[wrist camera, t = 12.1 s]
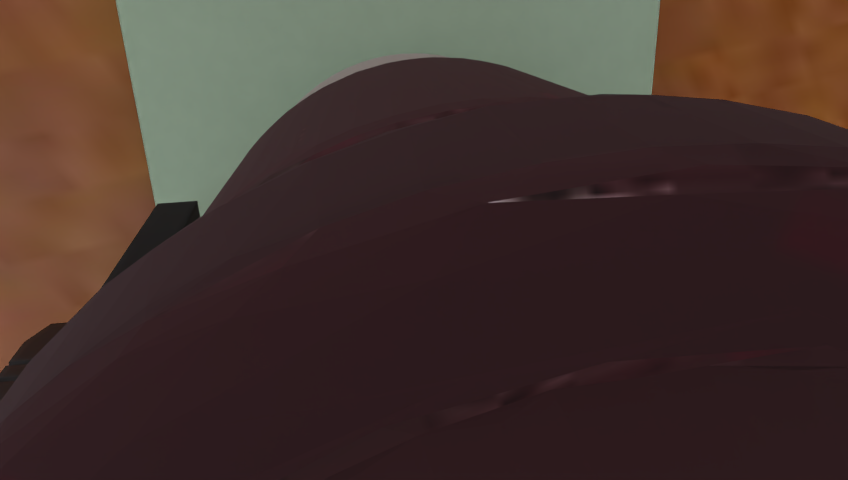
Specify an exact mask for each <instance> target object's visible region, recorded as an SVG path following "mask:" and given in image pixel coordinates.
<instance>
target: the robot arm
mask: <svg viewBox="0 0 848 480" xmlns="http://www.w3.org/2000/svg"><path fill="white" fill-rule="evenodd" d="M199 217H200V213H199V207H198V201H186V202H173V203H159V204H157V205H156V207H155V208H154V210H153V211H152V213H151V214H150V216H149V217H148V219H147V220H146V222H145V223H144V225H143V226H142V228H141V229H140V231H139V232H138V234H137V235H136V237H135V238H134V240H133V241H132V243H131V244H130V246H129V247H128V249H127V250H126V252H125V253H124V255H123V256H122V258H121V259H120V261H119V262H118V264H117V265H116V267H115V268H114V270H113V271H112V273H111V274H110V276H109V277H108V279H107V280H106V282H105V283H104V285H105V284H107V283H108V282H109V281H111V280H112V279H114V278H115V277H116V276H118V275H119V274H120V273H122V272H123V271H124V270H126V269H127V268H128V267H130V266H131V265H132V264H134V263H135V262H136V261H138V260H139V259H140V258H142V257H143V256H144V255H146V254H147V253H148V252H150V251H151V250H152V249H154V248H155V247H157V246H158V245H160V244H161V243H163V242H164V241H166V240H167V239H168V238H170V237H171V236H173V235H174V234H176V233H177V232H179V231H180V230H182V229H183V228H185V227H186V226H188V225H189V224H191V223H192V222H194V221H195V220H196V219H198V218H199ZM104 285H103V286H104ZM103 286H102V287H103ZM66 324H67V323H56V324H50V325H49V326H47V327H46V328H44V329H43V330H42V331H40V332H39V333H37V334H36V335H34V336H33V337H31V338H30V339H28V340H27V341H25V342H24V343H23V344H22V346H21V347H20V348H19V350H18V351H17V352H16V354H15V355H14V356H13V357H12V359H11V360H10V361H9V366H5V368H4V369H3V370H2V372H1V373H0V401H1V400H2V398H3V397H4V396H5V394H6V393H7V391H8V390H9V389H10V387H11V386H12V385H13V383H14V382H15V381H16V379H17V378H18V376H19V375H20V374H21V372H22V371H23V370H24V368H25V367H26V366H27V364H28V363H29V361H30V360H31V359H32V358H33V357H34V356H35V355H36V354H37V353H38V352H39V351H40V350H41V349H42V348H43V347H44V346H45V345H46V344H47V343H48V342H49V341H50V340H51V339H52V338H53V337H54V336H55V335H56V334H57V333H58V332H59V331H60V330H61V329H62V328H63V327H64V326H65V325H66Z"/></svg>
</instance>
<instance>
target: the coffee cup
mask: <svg viewBox="0 0 848 480" xmlns="http://www.w3.org/2000/svg"><path fill="white" fill-rule="evenodd" d="M0 480H848V129H845V128H842V127H839V126H836V125H833V124H831V123H828V122H825V121H822V120H819V119H816V118H813V117H810V116H807V115H802V114H797V113H791V112H786V111H781V110H775V109H770V108H764V107H759V106H754V105H748V104H743V103H738V102H732V101H727V100H719V99H704V98H689V97H674V96H659V95H638V94H597V95H586V94H584V93H581V92H578V91H575V90H572V89H570V88H567V87H564V86H561V85H558V84H555V83H553V82H550V81H547V80H544V79H541V78H539V77H536V76H533V75H530V74H527V73H524V72H522V71H519V70H516V69H513V68H510V67H507V66H503V65H499V64H494V63H490V62H485V61H479V60H473V59H466V58H450V57H446V56H440V55H432V54H424V53H410V54H395V55H387V56H382V57H378V58H374V59H370V60H367V61H363V62H361V63H358V64H356V65H353V66H350V67H348V68H346V69H344V70H342V71H340V72H338V73H336V74H334V75H332V76H331V77H329V78H328V79H326V80H325V81H323V82H321V83H320V84H318V85H317V86H316V87H315V88H314V89H312V90H311V91H310V92H309V93H307V94H306V95H305V96H304V97H303V98H302V99H301V100H300V101H299V102H298V103H297V104H296V105H295V106H294V107H293V108H291V109H290V110H288V111H287V112H286V113H285V114H284V115H283V116H282V117H281V118H279V119H278V120H277V121H276V122H275V123H274V124H273V125H272V126H271V127H270V128H269V129H268V130H267V131H266V132H265V133H264V134H263V135H262V136H261V137H260V138H259V139H258V141H257V142H256V143H255V144H254V145H253V147H252V148H251V149H250V150H249V152H248V153H247V154H246V156H245V157H244V159H243V160H242V161H241V163H240V164H239V166H238V167H237V168H236V170H235V171H234V173H233V174H232V175H231V177H230V178H229V179H228V181H227V182H226V184H225V185H224V186H223V188H222V189H221V191H220V192H219V193H218V195H217V196H216V198H215V199H214V200H213V202H212V203H211V205H210V206H209V207H208V209H207V210H206V212H205V213H204V214H203V216H201V217H199V218H198V219H196V220H195V221H194V222H192V223H191V224H189V225H188V226H186V227H185V228H183V229H182V230H180V231H179V232H177V233H176V234H174V235H173V236H171V237H170V238H168V239H167V240H166V241H164V242H163V243H161V244H160V245H158V246H157V247H155V248H154V249H152V250H151V251H150V252H148V253H147V254H146V255H144V256H143V257H142V258H140V259H139V260H138V261H136V262H135V263H134V264H132V265H131V266H130V267H128V268H127V269H126V270H124V271H123V272H122V273H120V274H119V275H118V276H116V277H115V278H114V279H112V280H111V281H109V282H108V283H107V284H105V285H104V286H103V287H102V288H101V289H100V290H99V291H98V292H97V293H96V294H95V295H94V296H93V297H92V298H91V299H90V300H89V301H88V302H87V303H86V304H85V305H84V306H83V307H82V308H81V310H80V311H79V312H78V313H77V314H76V315H75V316H74V317H73V318H72V319H71V320H70V321H69V322H68V323H67V324H66V325H65V326H64V327H63V328H62V329H61V330H60V331H59V332H58V333H57V334H56V335H55V336H54V337H53V338H52V339H51V340H50V341H49V342H48V343H47V344H46V345H45V346H44V347H43V348H42V349H41V350H40V351H39V352H38V353H37V354H36V355H35V356H34V357H33V358H32V359H31V360H30V361H29V363H28V364H27V366H26V367H25V368H24V370H23V371H22V372H21V374H20V375H19V376H18V378H17V379H16V381H15V382H14V383H13V385H12V386H11V387H10V389H9V390H8V391H7V393H6V394H5V396H4V397H3V398H2V400H1V401H0Z"/></svg>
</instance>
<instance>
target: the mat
mask: <svg viewBox="0 0 848 480" xmlns="http://www.w3.org/2000/svg"><path fill="white" fill-rule="evenodd" d="M116 5H117V10H118V16H119V21H120V26H121V31H122V36H123V41H124V46H125V52H126V57H127V62H128V67H129V72H130V77H131V82H132V87H133V93H134V98H135V103H136V108H137V113H138V118H139V123H140V129H141V134H142V139H143V144H144V149H145V154H146V159H147V164H148V170H149V175H150V180H151V185H152V190H153V195H154V200H155V206H156V205H157V204H159V203H173V202H186V201H198V207H199V213H200V217H201V216H203V214H204V213H205V212H206V210H207V209H208V207H209V206H210V205H211V203H212V202H213V200H214V199H215V198H216V196H217V195H218V193H219V192H220V191H221V189H222V188H223V186H224V185H225V184H226V182H227V181H228V179H229V178H230V177H231V175H232V174H233V173H234V171H235V170H236V168H237V167H238V166H239V164H240V163H241V161H242V160H243V159H244V157H245V156H246V154H247V153H248V152H249V150H250V149H251V148H252V147H253V145H254V144H255V143H256V142H257V141H258V139H259V138H260V137H261V136H262V135H263V134H264V133H265V132H266V131H267V130H268V129H269V128H270V127H271V126H272V125H273V124H274V123H275V122H276V121H277V120H278V119H279V118H281V117H282V116H283V115H284V114H285V113H286V112H287V111H288V110H290V109H291V108H293V107H294V106H295V105H296V104H297V103H298V102H299V101H300V100H301V99H302V98H303V97H304V96H305V95H306V94H307V93H309V92H310V91H311V90H312V89H314V88H315V87H316V86H317V85H318V84H320V83H321V82H323V81H325V80H326V79H328V78H329V77H331V76H332V75H334V74H336V73H338V72H340V71H342V70H344V69H346V68H348V67H350V66H353V65H356V64H358V63H361V62H363V61H367V60H370V59H374V58H378V57H382V56H387V55H395V54H410V53H424V54H432V55H440V56H446V57H450V58H466V59H473V60H479V61H485V62H490V63H494V64H499V65H503V66H507V67H510V68H513V69H516V70H519V71H522V72H524V73H527V74H530V75H533V76H536V77H539V78H541V79H544V80H547V81H550V82H553V83H555V84H558V85H561V86H564V87H567V88H570V89H572V90H575V91H578V92H581V93H584V94H586V95H597V94H638V95H652V84H653V73H654V63H655V52H656V41H657V30H658V19H659V8H660V0H116Z"/></svg>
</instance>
